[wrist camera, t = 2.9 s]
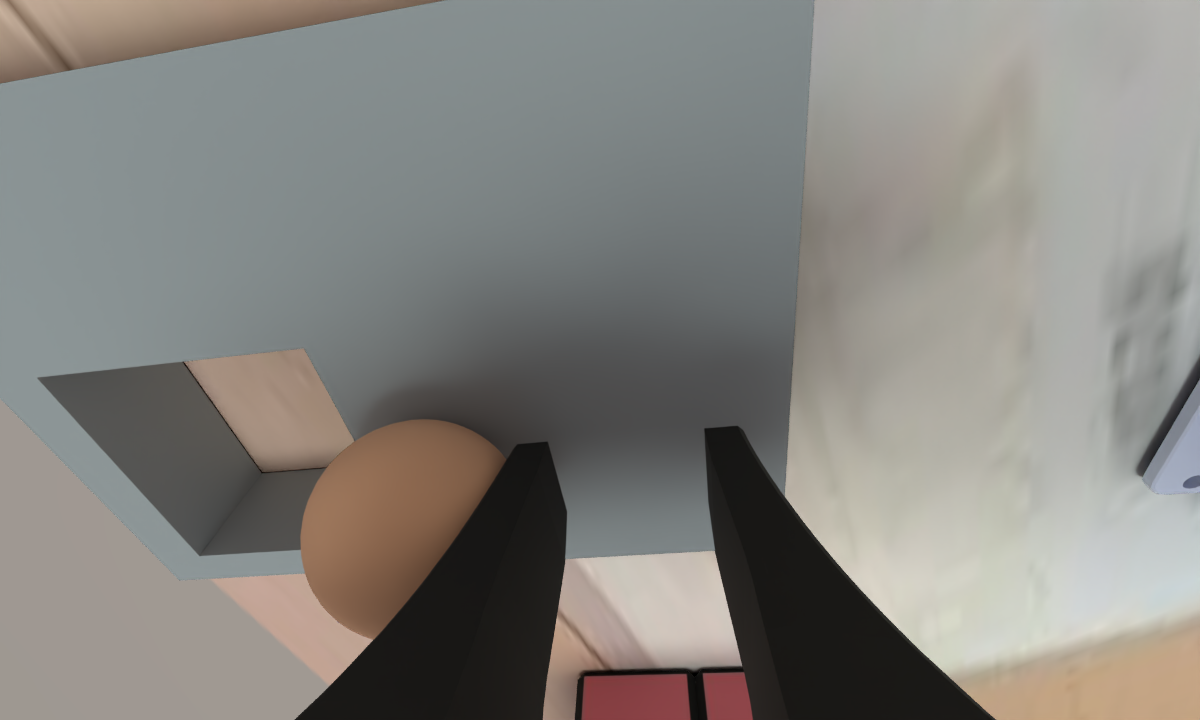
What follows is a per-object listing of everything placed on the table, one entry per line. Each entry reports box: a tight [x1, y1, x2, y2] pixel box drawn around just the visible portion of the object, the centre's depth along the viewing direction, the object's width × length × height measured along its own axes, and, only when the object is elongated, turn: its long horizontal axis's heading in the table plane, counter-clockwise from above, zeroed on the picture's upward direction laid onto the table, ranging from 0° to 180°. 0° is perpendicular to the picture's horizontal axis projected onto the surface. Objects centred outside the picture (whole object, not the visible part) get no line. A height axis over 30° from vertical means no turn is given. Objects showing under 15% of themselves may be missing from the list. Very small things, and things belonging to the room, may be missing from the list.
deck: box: [0, 0, 814, 580], centre depth 12 cm, size 16×12×3 cm
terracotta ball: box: [300, 419, 506, 640], centre depth 10 cm, size 4×4×4 cm
